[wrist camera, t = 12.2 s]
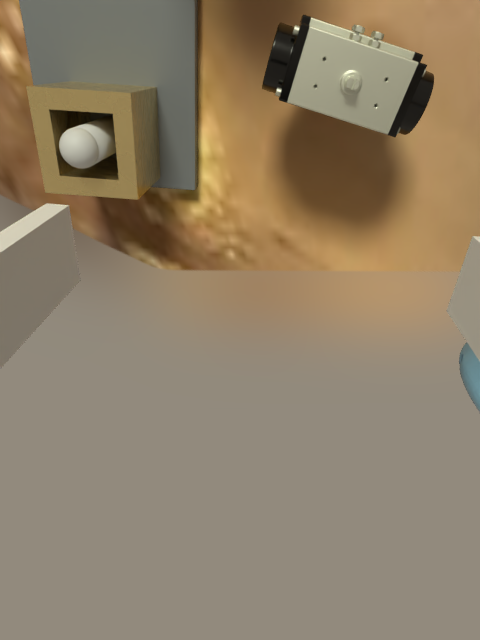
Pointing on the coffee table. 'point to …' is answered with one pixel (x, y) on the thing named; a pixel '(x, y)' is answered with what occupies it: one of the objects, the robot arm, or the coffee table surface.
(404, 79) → the pneumatic valve
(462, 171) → the coffee table surface
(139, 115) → the collar
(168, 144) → the post plate
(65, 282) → the robot arm
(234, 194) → the coffee table surface
